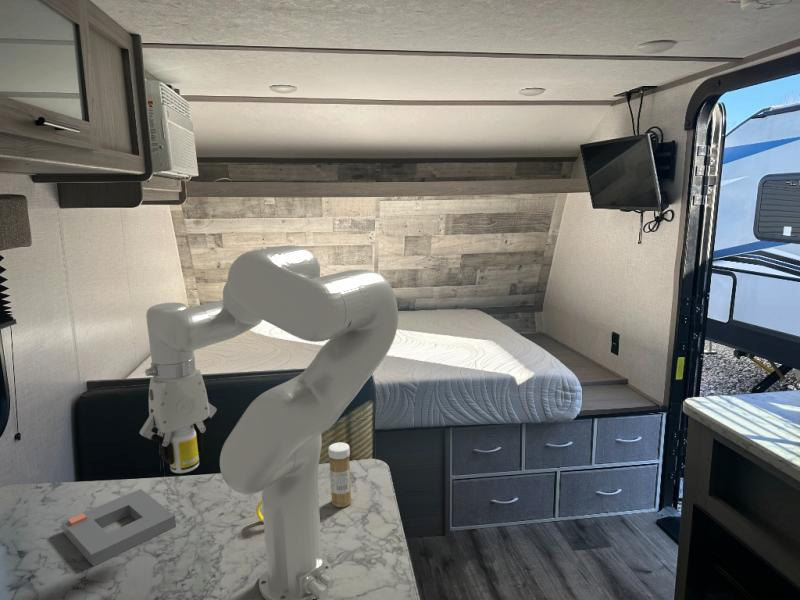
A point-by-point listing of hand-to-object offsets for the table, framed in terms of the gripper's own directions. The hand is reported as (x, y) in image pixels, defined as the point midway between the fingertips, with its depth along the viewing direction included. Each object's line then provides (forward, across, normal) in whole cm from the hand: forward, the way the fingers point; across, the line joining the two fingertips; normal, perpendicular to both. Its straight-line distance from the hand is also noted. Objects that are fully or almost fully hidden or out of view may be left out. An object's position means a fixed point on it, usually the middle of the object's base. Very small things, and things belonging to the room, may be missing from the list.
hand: (183, 455), depth 107 cm
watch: (+18, +13, -9) cm, 24 cm away
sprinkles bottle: (+18, +27, -15) cm, 36 cm away
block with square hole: (+17, -9, +13) cm, 23 cm away
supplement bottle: (+3, 0, 0) cm, 3 cm away
